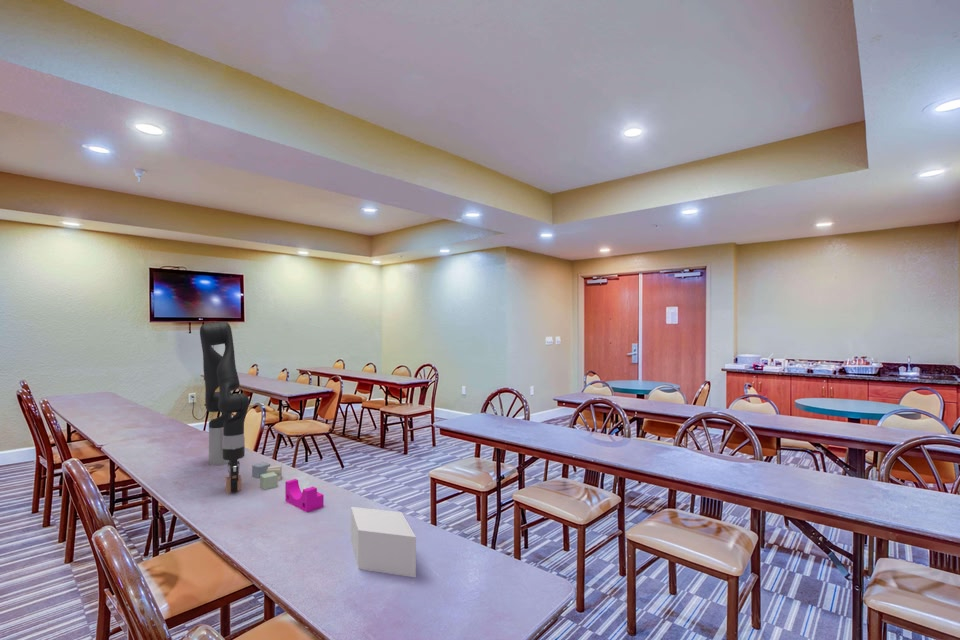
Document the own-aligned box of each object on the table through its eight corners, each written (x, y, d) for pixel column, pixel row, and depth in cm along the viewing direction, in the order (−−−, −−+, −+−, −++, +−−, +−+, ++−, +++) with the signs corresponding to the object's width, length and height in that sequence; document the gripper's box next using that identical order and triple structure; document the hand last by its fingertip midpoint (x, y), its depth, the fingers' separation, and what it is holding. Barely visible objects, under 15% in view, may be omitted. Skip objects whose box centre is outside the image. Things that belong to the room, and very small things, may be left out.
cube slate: (252, 477, 186) (252, 465, 186) (263, 473, 190) (263, 462, 190) (258, 479, 183) (258, 467, 183) (270, 475, 187) (270, 464, 187)
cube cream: (268, 478, 183) (268, 466, 183) (281, 477, 185) (281, 465, 185) (266, 482, 179) (266, 470, 179) (279, 481, 180) (279, 469, 180)
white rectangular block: (371, 532, 135) (371, 499, 136) (436, 565, 117) (436, 527, 117) (328, 551, 124) (328, 514, 125) (393, 590, 106) (393, 548, 106)
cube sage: (260, 487, 174) (260, 474, 174) (273, 484, 177) (273, 471, 177) (264, 490, 170) (264, 478, 170) (277, 487, 173) (277, 475, 173)
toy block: (323, 507, 154) (323, 486, 155) (306, 513, 150) (306, 491, 150) (301, 497, 164) (301, 476, 164) (285, 502, 159) (285, 481, 159)
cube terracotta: (225, 489, 171) (225, 477, 171) (240, 487, 174) (240, 474, 174) (226, 494, 167) (226, 480, 167) (241, 491, 170) (241, 478, 170)
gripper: (221, 442, 175) (221, 484, 174) (223, 451, 162) (223, 496, 162) (243, 440, 179) (242, 481, 178) (246, 448, 166) (245, 492, 166)
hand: (233, 488), depth 170 cm, fingers open, 6 cm apart
